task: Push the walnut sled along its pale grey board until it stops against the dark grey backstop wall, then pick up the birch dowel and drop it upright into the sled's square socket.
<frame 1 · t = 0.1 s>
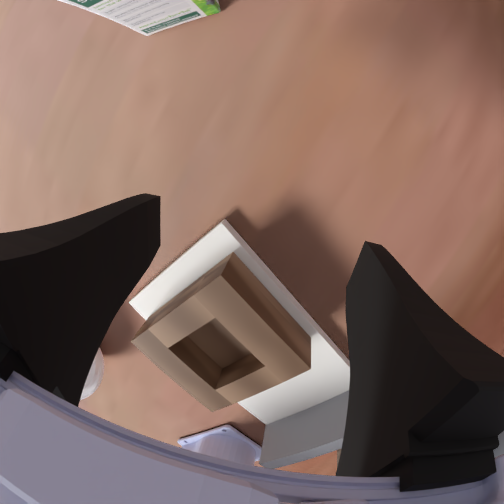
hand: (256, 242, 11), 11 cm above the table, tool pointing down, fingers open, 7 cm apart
walnut sled: (220, 342, 22), point 3 cm above the table, slide at 7.0 cm
backstop board: (326, 412, 28), on the table
motion sensor: (87, 339, 30), on the table
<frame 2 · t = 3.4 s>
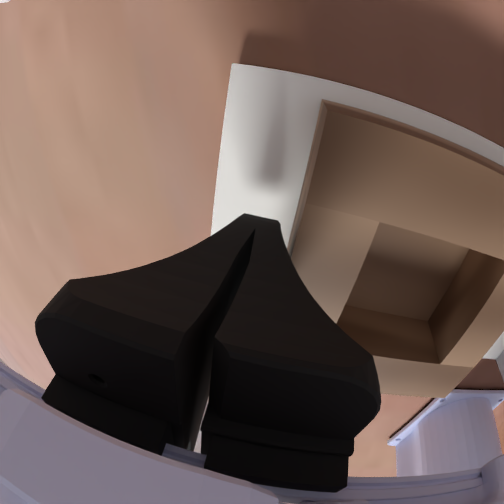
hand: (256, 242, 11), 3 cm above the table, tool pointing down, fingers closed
walnut sled: (408, 276, 10), point 3 cm above the table, slide at 5.8 cm, touching gripper
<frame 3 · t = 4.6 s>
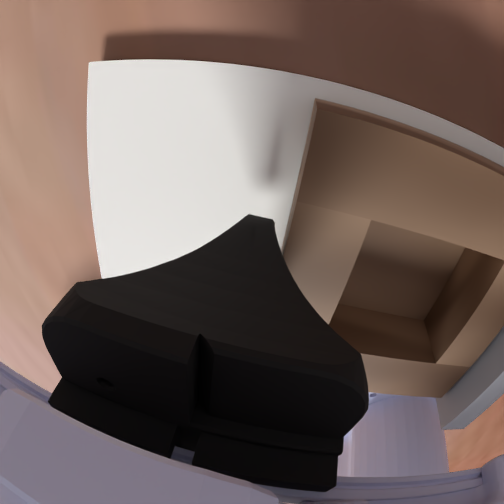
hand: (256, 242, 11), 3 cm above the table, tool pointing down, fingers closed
walnut sled: (403, 275, 10), point 3 cm above the table, slide at -0.1 cm, touching gripper
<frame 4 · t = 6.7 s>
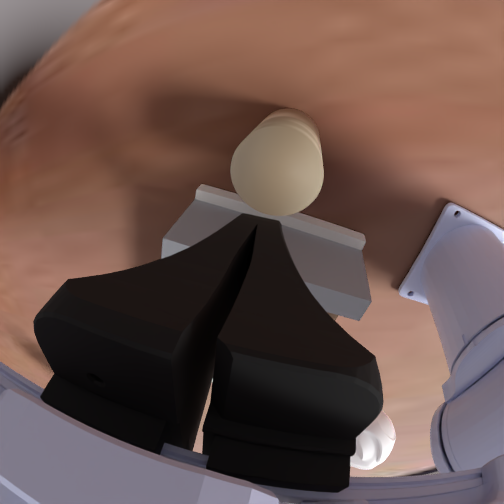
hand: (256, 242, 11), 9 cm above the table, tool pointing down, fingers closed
walnut sled: (251, 313, 22), point 3 cm above the table, slide at 0.0 cm
birch dowel: (288, 137, 18), on the table
backstop board: (286, 201, 20), on the table
motion sensor: (360, 407, 31), on the table
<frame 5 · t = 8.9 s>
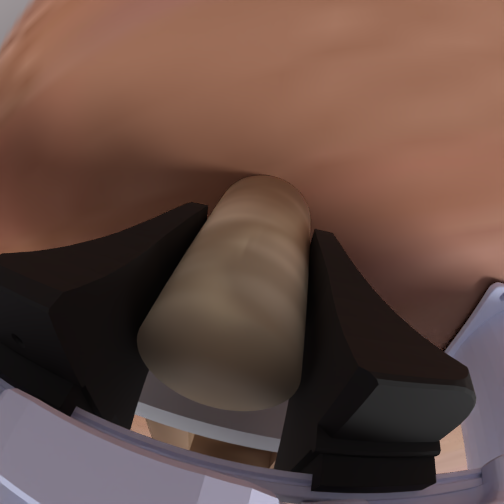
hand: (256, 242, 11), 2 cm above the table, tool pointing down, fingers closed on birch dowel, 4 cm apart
walnut sled: (238, 424, 16), point 3 cm above the table, slide at 0.0 cm
birch dowel: (263, 219, 12), on the table, touching gripper
backstop board: (270, 301, 14), on the table
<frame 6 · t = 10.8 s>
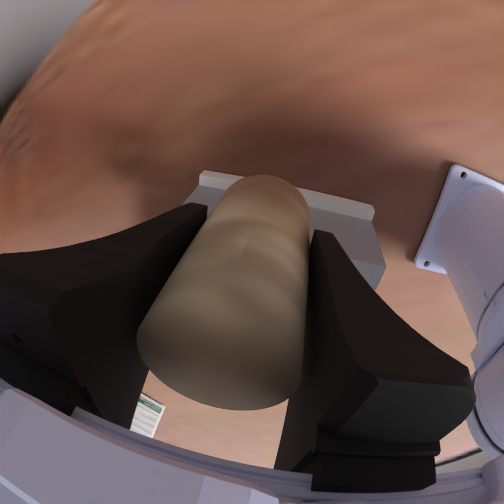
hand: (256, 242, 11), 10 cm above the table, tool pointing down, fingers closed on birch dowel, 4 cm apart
birch dowel: (263, 218, 12), point 8 cm above the table, touching gripper
backstop board: (290, 178, 19), on the table
syrup box: (143, 400, 41), on the table
when the fingers open (5 cm above the table, at t = 12.8 s): birch dowel drops 2 cm, resting on walnut sled.
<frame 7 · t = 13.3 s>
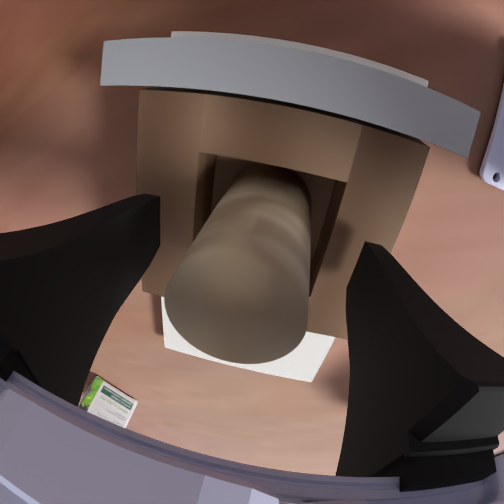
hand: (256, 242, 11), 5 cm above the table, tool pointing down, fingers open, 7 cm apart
walnut sled: (266, 210, 13), point 3 cm above the table, slide at 0.0 cm, touching birch dowel
birch dowel: (269, 203, 13), point 2 cm above the table, touching walnut sled
backstop board: (303, 35, 11), on the table
syrup box: (112, 392, 32), on the table
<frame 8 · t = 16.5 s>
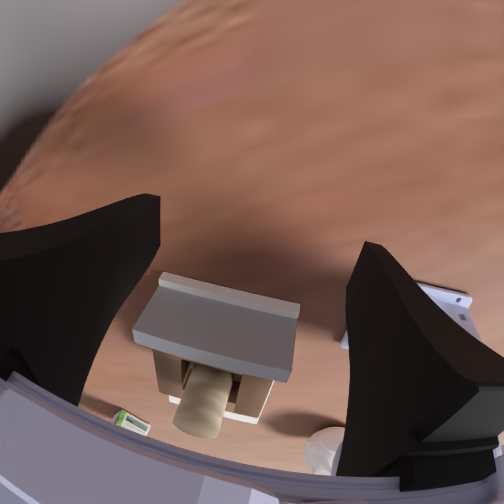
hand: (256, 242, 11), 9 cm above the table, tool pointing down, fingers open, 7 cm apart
walnut sled: (214, 367, 26), point 3 cm above the table, slide at 0.0 cm, touching birch dowel
birch dowel: (216, 361, 27), point 2 cm above the table, touching walnut sled
backstop board: (230, 283, 24), on the table
syrup box: (132, 418, 45), on the table
motion sensor: (335, 428, 35), on the table
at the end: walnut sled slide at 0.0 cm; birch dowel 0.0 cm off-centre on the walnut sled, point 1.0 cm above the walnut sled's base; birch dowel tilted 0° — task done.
